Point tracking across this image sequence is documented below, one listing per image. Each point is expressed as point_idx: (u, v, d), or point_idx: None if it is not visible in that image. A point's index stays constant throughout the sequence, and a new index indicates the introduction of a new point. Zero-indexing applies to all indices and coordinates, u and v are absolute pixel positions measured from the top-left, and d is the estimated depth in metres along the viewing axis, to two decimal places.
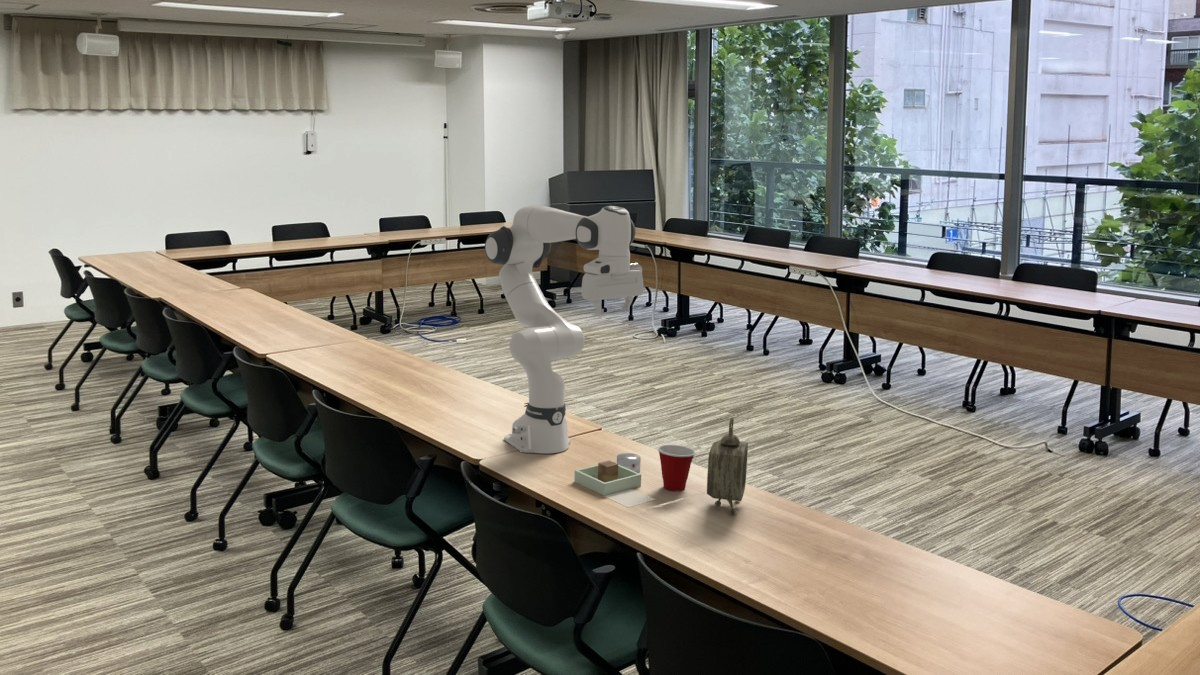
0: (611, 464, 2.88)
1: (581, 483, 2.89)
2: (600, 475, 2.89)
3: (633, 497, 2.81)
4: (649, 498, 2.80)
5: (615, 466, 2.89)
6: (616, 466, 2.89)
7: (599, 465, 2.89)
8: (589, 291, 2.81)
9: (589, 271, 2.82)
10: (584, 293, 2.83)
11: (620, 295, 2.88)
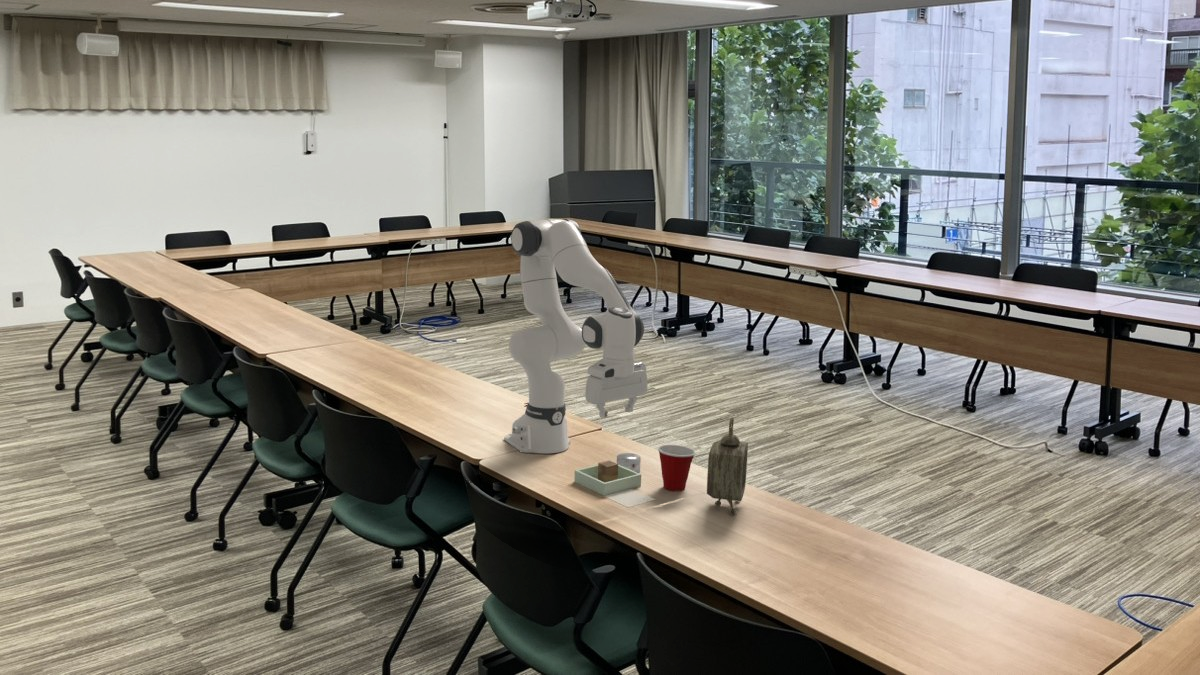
0: (611, 464, 2.88)
1: (581, 483, 2.89)
2: (600, 475, 2.89)
3: (633, 497, 2.81)
4: (649, 498, 2.80)
5: (615, 466, 2.89)
6: (616, 466, 2.89)
7: (599, 465, 2.89)
8: (593, 396, 2.77)
9: (593, 375, 2.78)
10: (588, 396, 2.79)
11: (624, 396, 2.85)
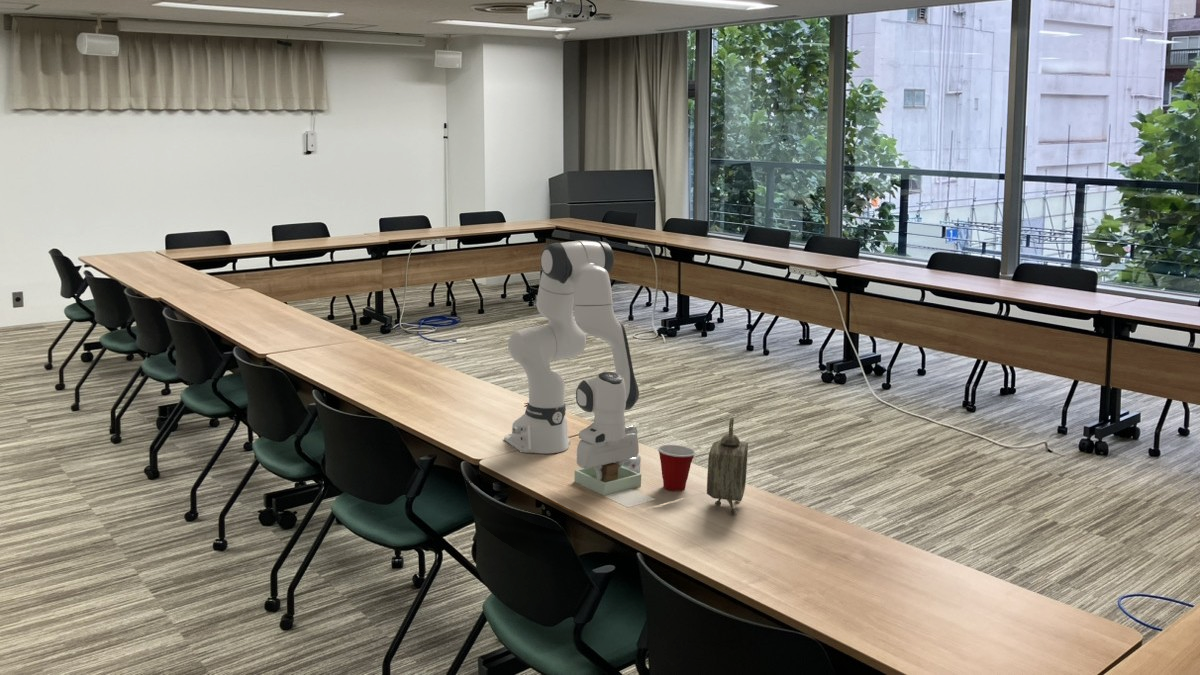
0: (611, 464, 2.88)
1: (581, 483, 2.89)
2: None
3: (633, 497, 2.81)
4: (649, 498, 2.80)
5: (615, 466, 2.89)
6: (616, 466, 2.89)
7: None
8: (584, 460, 2.81)
9: (584, 439, 2.82)
10: (579, 461, 2.83)
11: (615, 460, 2.88)
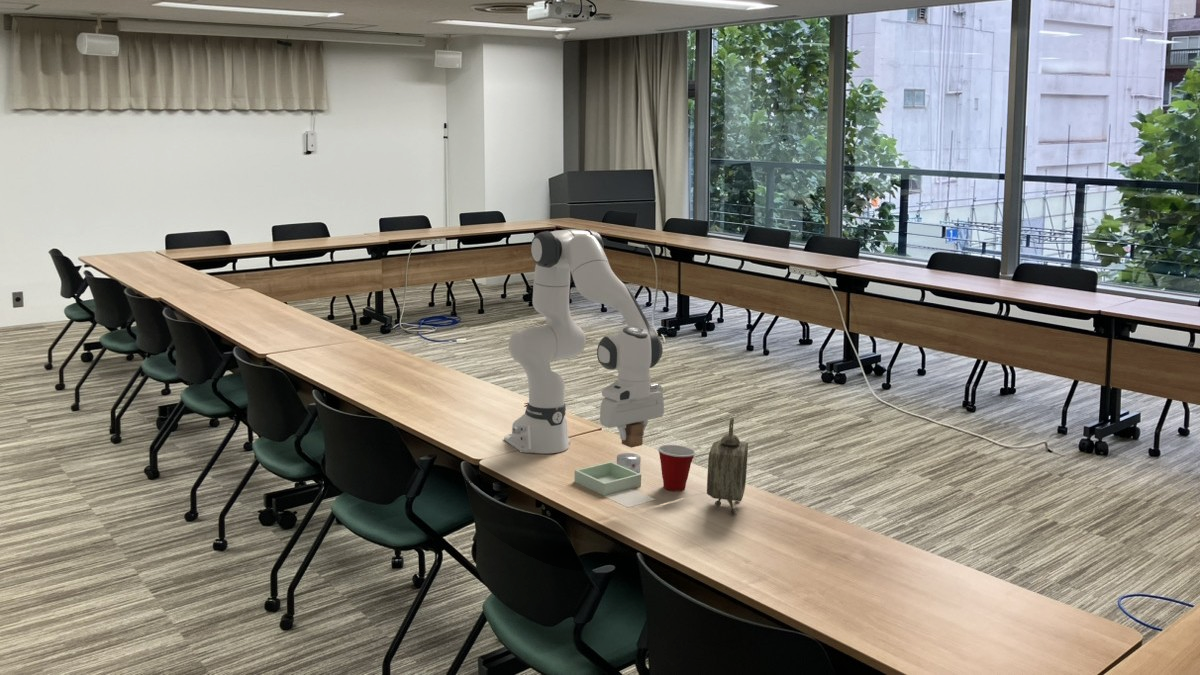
0: (636, 424, 2.75)
1: (581, 483, 2.89)
2: None
3: (633, 497, 2.81)
4: (649, 498, 2.80)
5: (640, 426, 2.75)
6: (641, 426, 2.75)
7: None
8: (608, 419, 2.68)
9: (608, 397, 2.69)
10: (603, 420, 2.69)
11: (639, 419, 2.75)
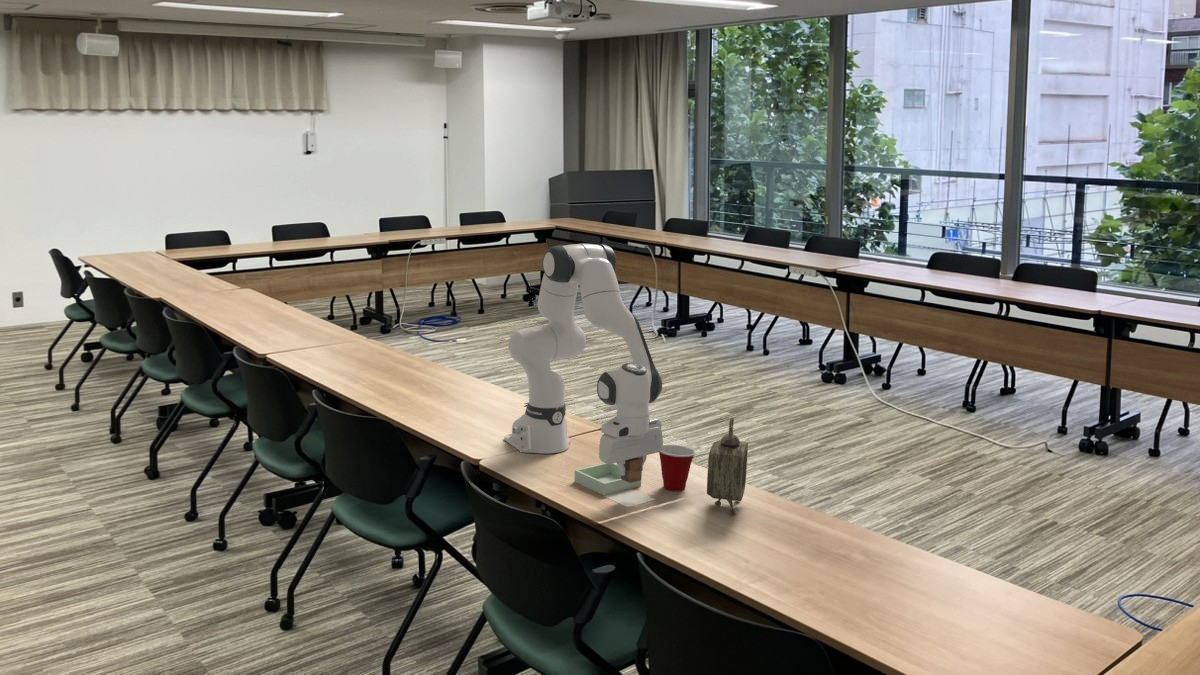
0: (635, 459, 2.77)
1: (581, 483, 2.89)
2: None
3: (633, 497, 2.81)
4: (649, 498, 2.80)
5: (639, 461, 2.77)
6: (640, 461, 2.77)
7: None
8: (607, 455, 2.70)
9: (607, 433, 2.71)
10: (602, 456, 2.71)
11: (638, 455, 2.77)
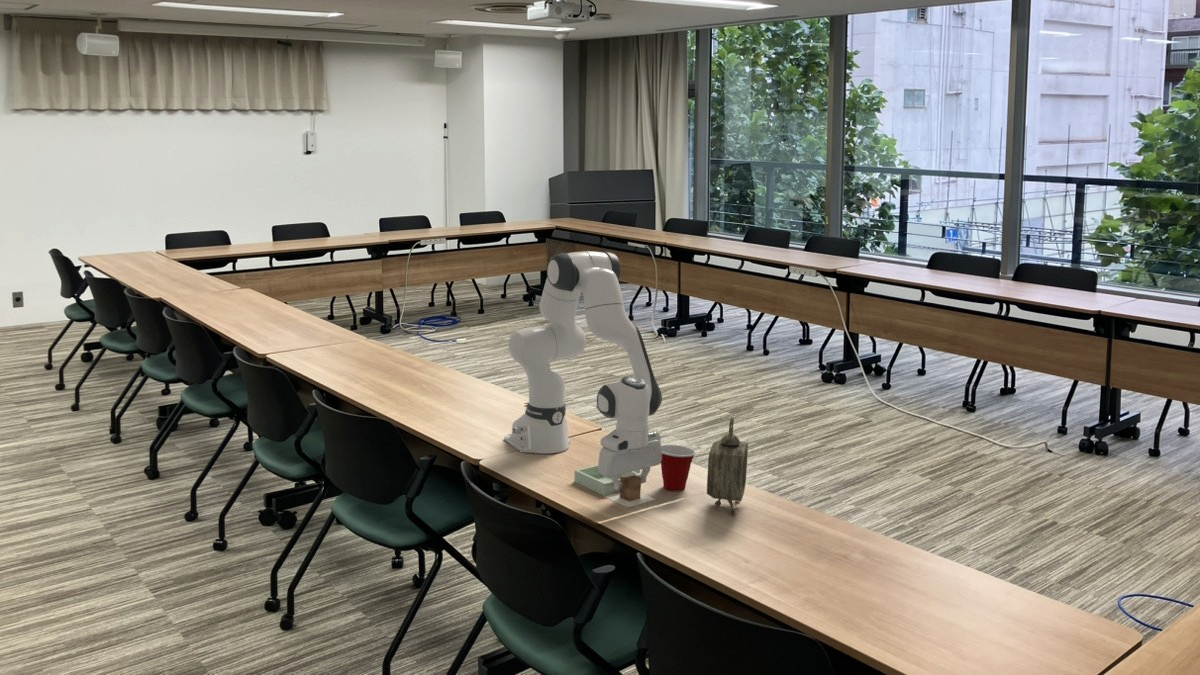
0: (634, 478, 2.78)
1: (581, 483, 2.89)
2: (622, 489, 2.79)
3: None
4: (649, 498, 2.80)
5: (638, 479, 2.78)
6: (639, 479, 2.79)
7: (621, 478, 2.79)
8: (606, 468, 2.71)
9: (606, 447, 2.72)
10: (601, 469, 2.72)
11: (638, 468, 2.78)
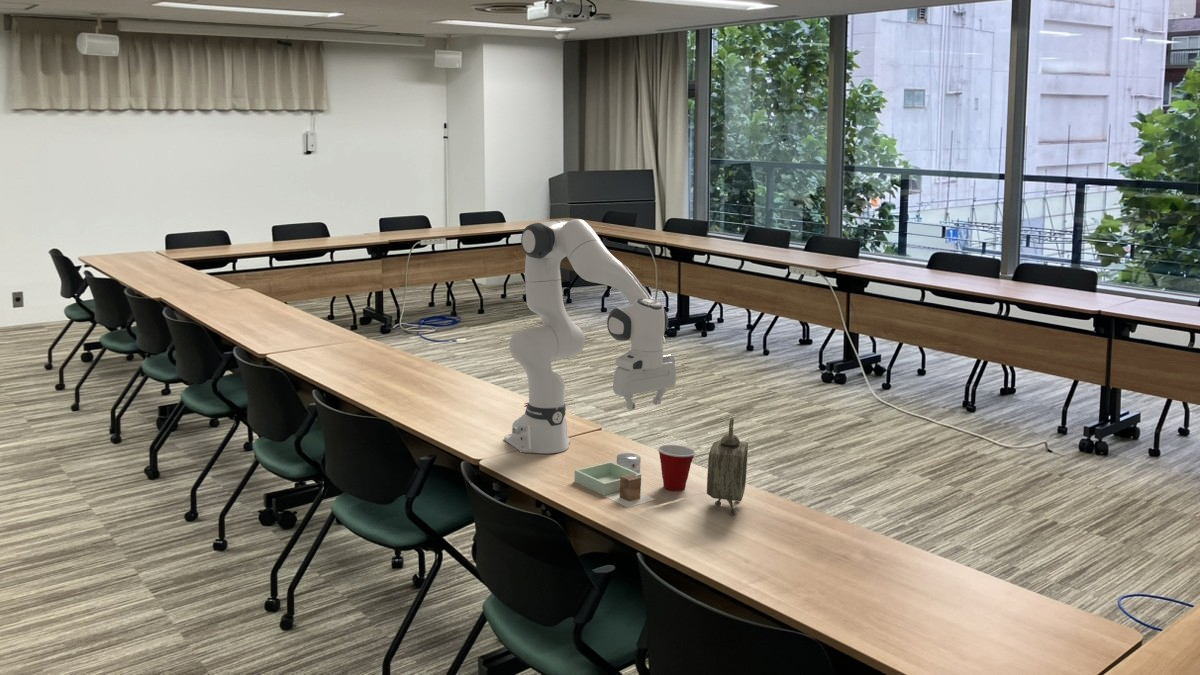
0: (634, 478, 2.78)
1: (581, 483, 2.89)
2: (622, 489, 2.79)
3: None
4: (649, 498, 2.80)
5: (638, 479, 2.78)
6: (639, 479, 2.79)
7: (621, 478, 2.79)
8: (621, 387, 2.75)
9: (621, 366, 2.76)
10: (616, 388, 2.76)
11: (652, 389, 2.82)
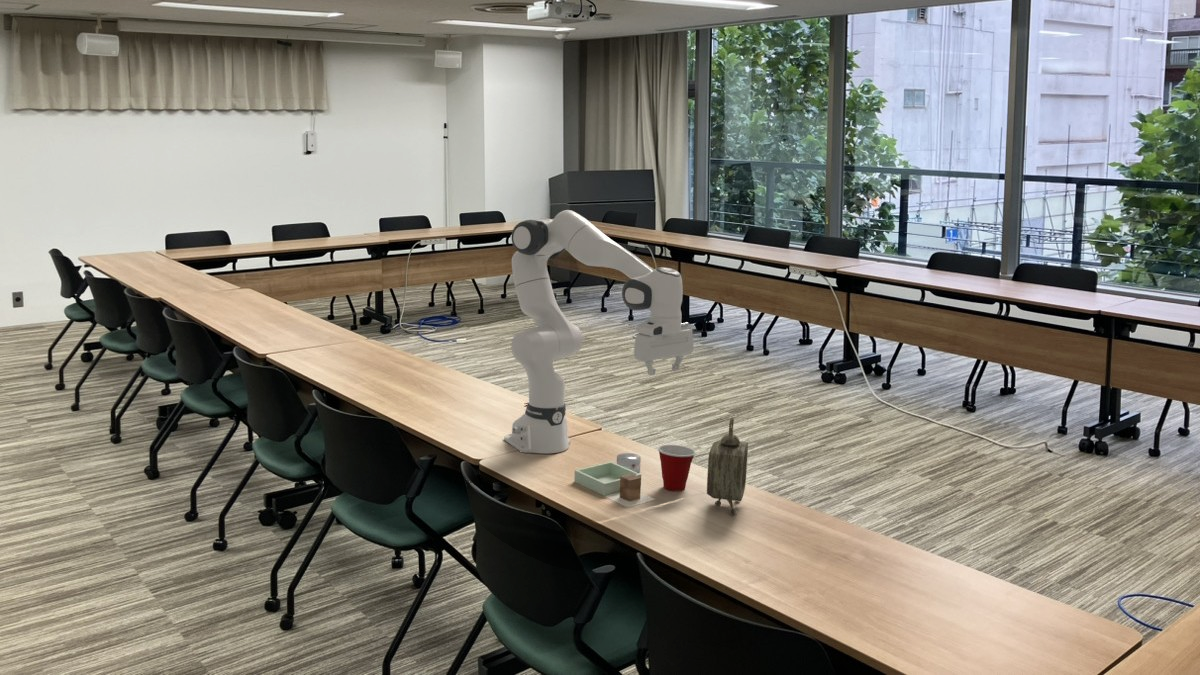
0: (634, 478, 2.78)
1: (581, 483, 2.89)
2: (622, 489, 2.79)
3: None
4: (649, 498, 2.80)
5: (638, 479, 2.78)
6: (639, 479, 2.79)
7: (621, 478, 2.79)
8: (642, 352, 2.85)
9: (642, 332, 2.86)
10: (637, 354, 2.87)
11: (671, 355, 2.92)
